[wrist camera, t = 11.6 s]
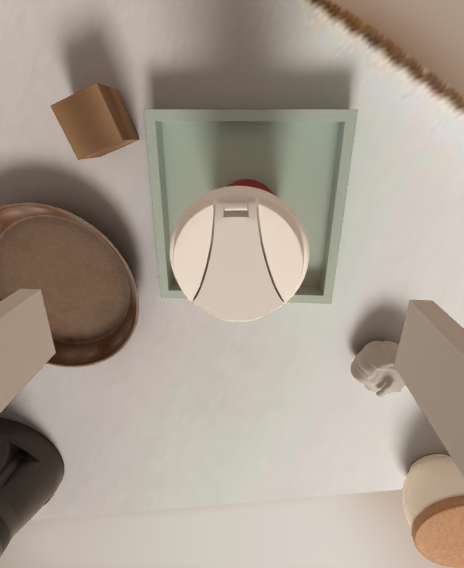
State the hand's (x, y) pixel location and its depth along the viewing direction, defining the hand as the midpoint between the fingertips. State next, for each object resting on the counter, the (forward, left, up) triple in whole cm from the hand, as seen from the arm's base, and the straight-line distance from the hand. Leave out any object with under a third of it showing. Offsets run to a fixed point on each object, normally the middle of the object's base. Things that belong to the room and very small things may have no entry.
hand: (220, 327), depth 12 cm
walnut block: (-12, +7, -21) cm, 25 cm away
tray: (0, 0, -20) cm, 20 cm away
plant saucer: (-19, -8, -21) cm, 29 cm away
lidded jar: (+24, -32, -21) cm, 45 cm away
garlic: (+14, -15, -21) cm, 29 cm away
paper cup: (0, 0, -20) cm, 20 cm away
